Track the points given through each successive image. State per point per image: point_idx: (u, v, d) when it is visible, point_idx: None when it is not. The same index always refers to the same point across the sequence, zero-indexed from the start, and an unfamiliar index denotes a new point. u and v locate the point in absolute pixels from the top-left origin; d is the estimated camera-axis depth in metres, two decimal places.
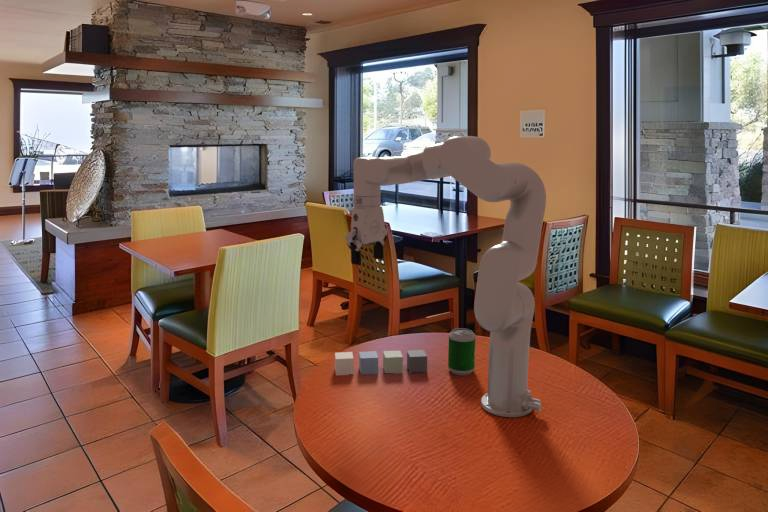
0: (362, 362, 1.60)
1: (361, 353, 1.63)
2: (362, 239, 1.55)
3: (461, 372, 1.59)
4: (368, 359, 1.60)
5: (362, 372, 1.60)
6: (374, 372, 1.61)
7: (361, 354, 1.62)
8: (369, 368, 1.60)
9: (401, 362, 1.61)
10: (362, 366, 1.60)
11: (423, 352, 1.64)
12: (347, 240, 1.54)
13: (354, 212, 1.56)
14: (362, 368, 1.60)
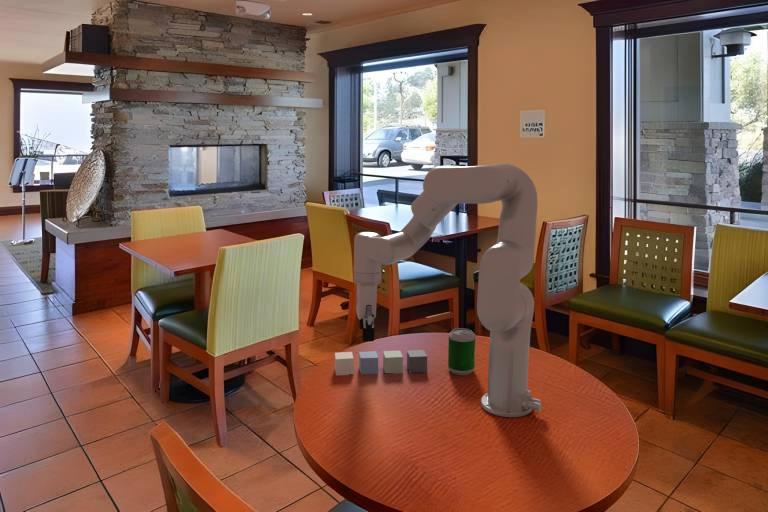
0: (362, 362, 1.60)
1: (361, 353, 1.63)
2: None
3: (461, 372, 1.59)
4: (368, 359, 1.60)
5: (362, 372, 1.60)
6: (374, 372, 1.61)
7: (361, 354, 1.62)
8: (369, 368, 1.60)
9: (401, 362, 1.61)
10: (362, 366, 1.60)
11: (423, 352, 1.64)
12: None
13: None
14: (362, 368, 1.60)
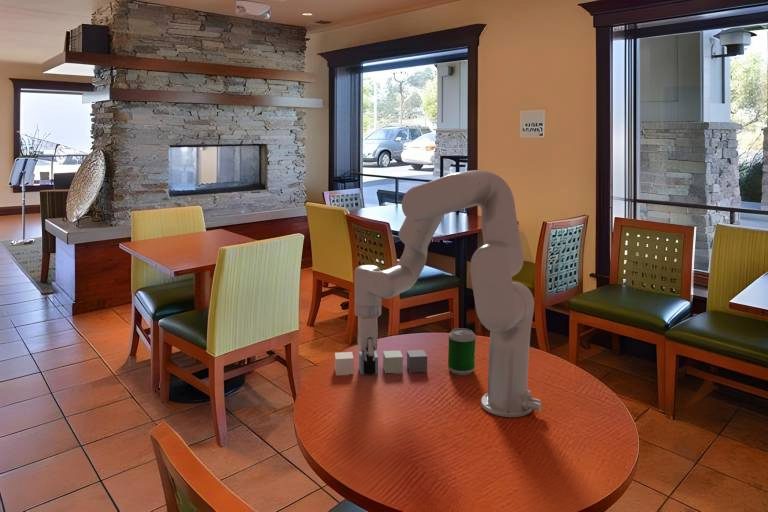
0: (362, 362, 1.60)
1: (361, 353, 1.63)
2: None
3: (461, 372, 1.59)
4: None
5: (362, 372, 1.60)
6: None
7: (361, 354, 1.62)
8: None
9: (401, 362, 1.61)
10: (362, 366, 1.60)
11: (423, 352, 1.64)
12: None
13: None
14: (362, 368, 1.60)
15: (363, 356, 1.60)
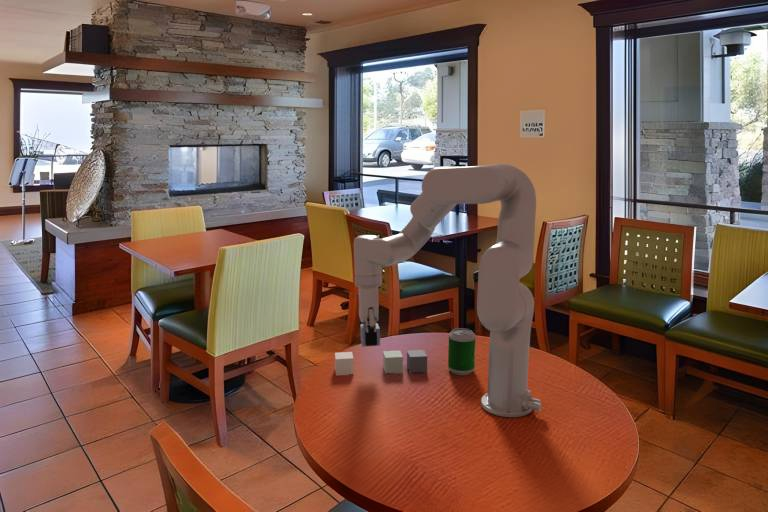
0: (363, 333, 1.58)
1: (362, 325, 1.61)
2: None
3: (461, 372, 1.59)
4: None
5: (364, 344, 1.58)
6: None
7: (362, 326, 1.60)
8: None
9: (401, 362, 1.61)
10: (364, 337, 1.58)
11: (423, 352, 1.64)
12: None
13: None
14: (364, 339, 1.58)
15: (364, 328, 1.58)
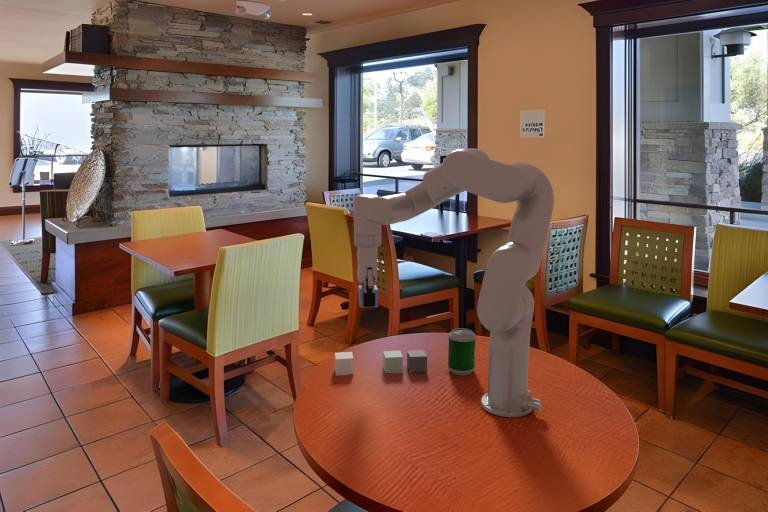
0: (361, 294, 1.56)
1: (360, 286, 1.59)
2: None
3: (461, 372, 1.59)
4: None
5: (361, 305, 1.56)
6: None
7: (360, 287, 1.58)
8: None
9: (401, 362, 1.61)
10: (361, 298, 1.56)
11: (423, 352, 1.64)
12: None
13: None
14: (361, 300, 1.56)
15: (363, 289, 1.56)
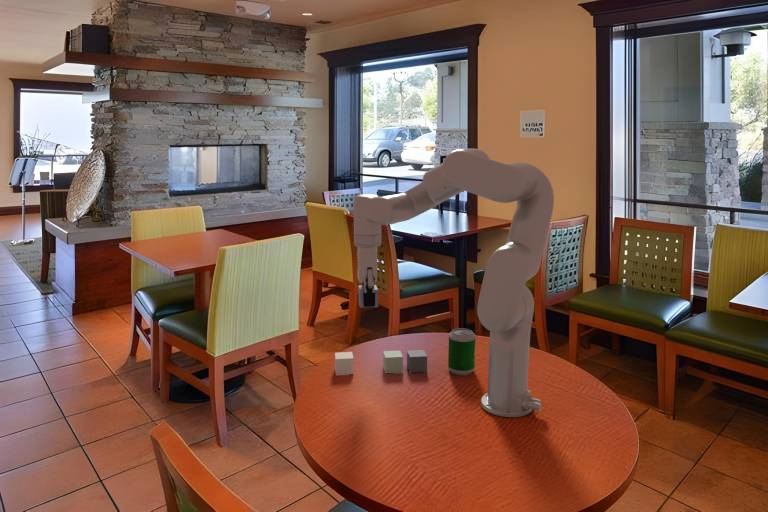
0: (361, 294, 1.56)
1: (360, 286, 1.59)
2: None
3: (461, 372, 1.59)
4: None
5: (361, 305, 1.56)
6: None
7: (360, 287, 1.58)
8: None
9: (401, 362, 1.61)
10: (361, 298, 1.56)
11: (423, 352, 1.64)
12: None
13: None
14: (361, 300, 1.56)
15: (363, 289, 1.56)
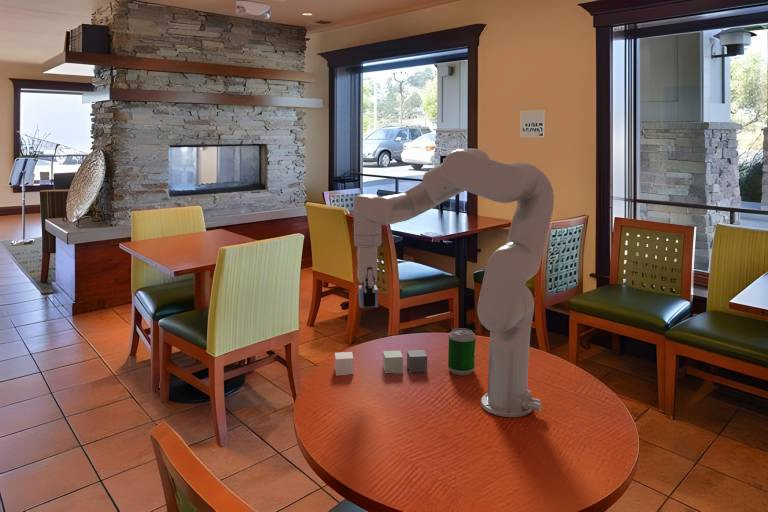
0: (361, 294, 1.56)
1: (360, 286, 1.59)
2: None
3: (461, 372, 1.59)
4: None
5: (361, 305, 1.56)
6: None
7: (360, 287, 1.58)
8: None
9: (401, 362, 1.61)
10: (361, 298, 1.56)
11: (423, 352, 1.64)
12: None
13: None
14: (361, 300, 1.56)
15: (363, 289, 1.56)
